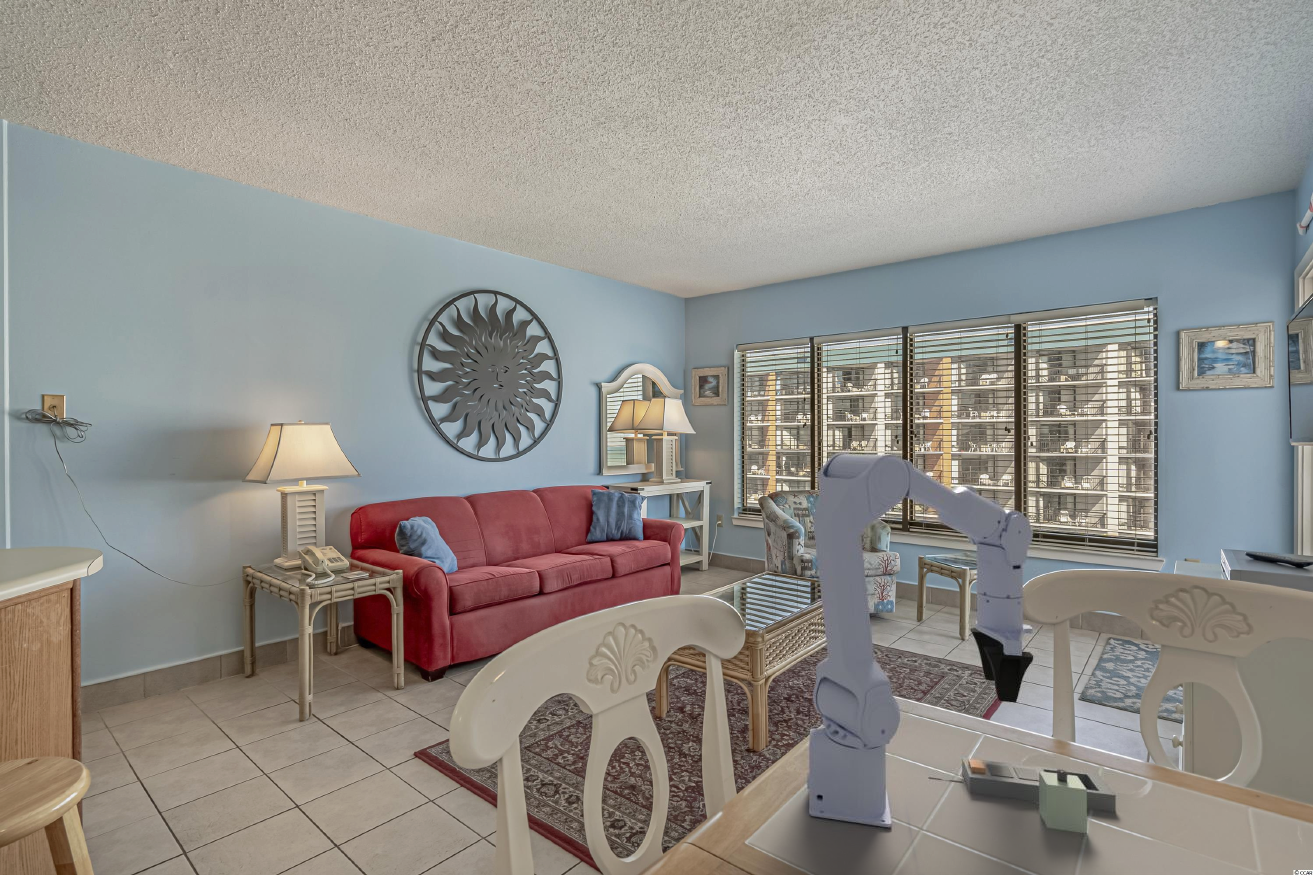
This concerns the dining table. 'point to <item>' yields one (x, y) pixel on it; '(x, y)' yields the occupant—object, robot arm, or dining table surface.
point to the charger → (1063, 801)
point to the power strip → (1028, 782)
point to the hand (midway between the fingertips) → (1000, 690)
